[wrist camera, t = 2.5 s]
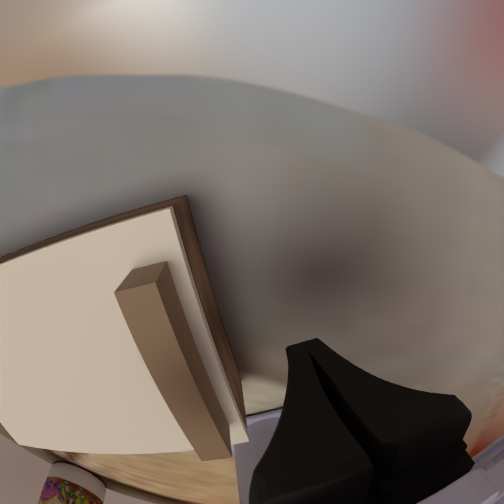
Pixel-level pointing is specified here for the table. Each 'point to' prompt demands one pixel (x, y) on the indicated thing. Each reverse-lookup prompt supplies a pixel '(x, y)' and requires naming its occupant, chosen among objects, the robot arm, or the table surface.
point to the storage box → (197, 272)
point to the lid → (112, 347)
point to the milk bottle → (71, 486)
